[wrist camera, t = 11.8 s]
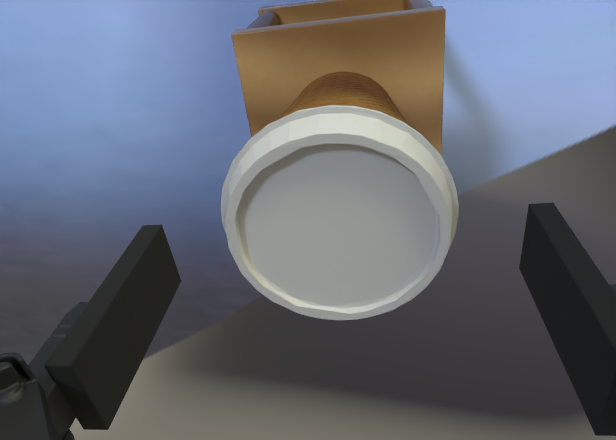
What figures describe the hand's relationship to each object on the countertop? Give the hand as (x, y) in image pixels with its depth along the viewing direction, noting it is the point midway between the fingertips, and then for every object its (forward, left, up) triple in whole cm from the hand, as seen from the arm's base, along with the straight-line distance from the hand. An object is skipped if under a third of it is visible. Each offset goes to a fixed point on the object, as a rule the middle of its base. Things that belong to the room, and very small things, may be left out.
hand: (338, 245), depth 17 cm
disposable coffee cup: (0, 0, -13) cm, 13 cm away
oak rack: (0, 0, -22) cm, 22 cm away
